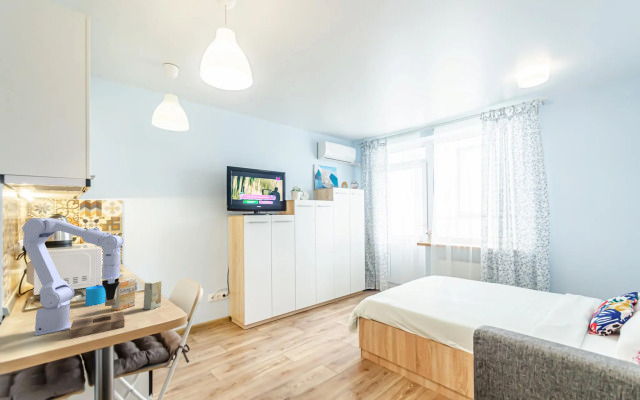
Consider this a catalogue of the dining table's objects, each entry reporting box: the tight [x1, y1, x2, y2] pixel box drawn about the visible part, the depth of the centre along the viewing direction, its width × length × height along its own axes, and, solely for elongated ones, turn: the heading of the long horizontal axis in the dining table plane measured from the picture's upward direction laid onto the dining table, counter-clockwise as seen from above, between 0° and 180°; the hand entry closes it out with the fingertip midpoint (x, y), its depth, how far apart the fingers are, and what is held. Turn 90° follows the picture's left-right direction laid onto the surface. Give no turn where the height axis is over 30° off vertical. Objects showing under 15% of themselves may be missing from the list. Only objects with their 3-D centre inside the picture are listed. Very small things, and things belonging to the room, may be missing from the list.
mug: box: [84, 284, 106, 307], centre depth 143 cm, size 12×8×8 cm
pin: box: [104, 288, 117, 307], centre depth 113 cm, size 4×4×8 cm
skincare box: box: [143, 280, 162, 310], centre depth 133 cm, size 6×4×12 cm
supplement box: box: [111, 278, 136, 312], centre depth 134 cm, size 8×5×13 cm, turn 161°
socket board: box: [69, 311, 126, 339], centre depth 109 cm, size 16×12×3 cm
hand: (110, 298), depth 113 cm, fingers closed on pin, 4 cm apart
